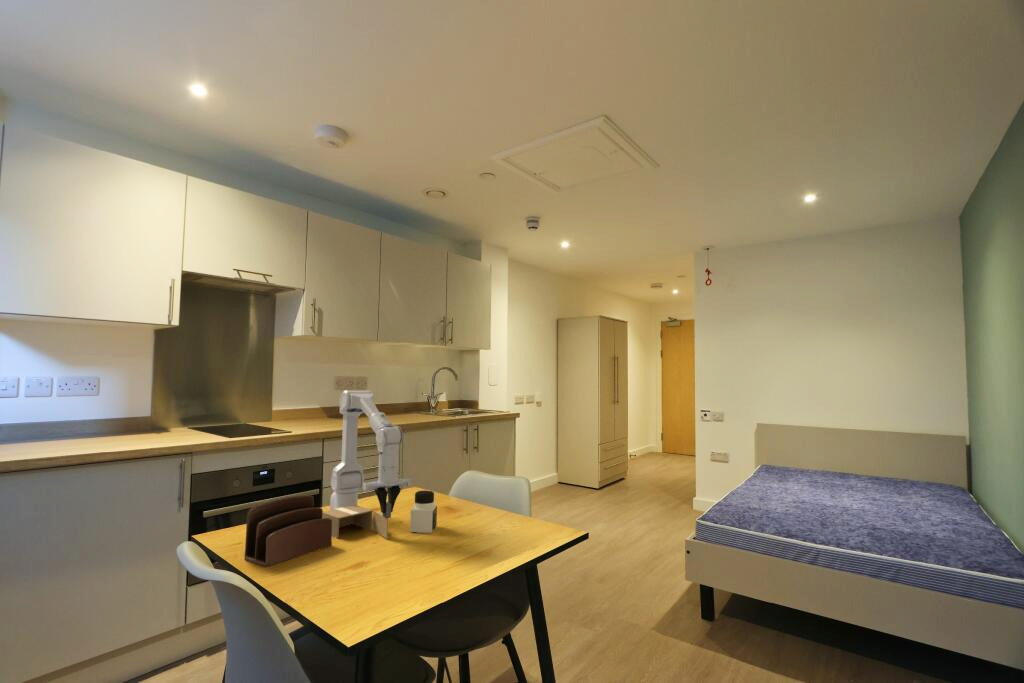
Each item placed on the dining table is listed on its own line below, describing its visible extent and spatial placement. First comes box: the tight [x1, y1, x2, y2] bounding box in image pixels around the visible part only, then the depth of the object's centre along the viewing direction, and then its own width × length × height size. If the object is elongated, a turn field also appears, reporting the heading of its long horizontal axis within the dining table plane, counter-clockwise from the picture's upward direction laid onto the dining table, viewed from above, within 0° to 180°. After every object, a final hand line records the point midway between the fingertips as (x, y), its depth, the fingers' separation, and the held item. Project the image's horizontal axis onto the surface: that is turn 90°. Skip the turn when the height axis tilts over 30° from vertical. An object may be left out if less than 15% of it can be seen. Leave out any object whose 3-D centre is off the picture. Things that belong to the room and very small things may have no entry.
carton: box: [322, 504, 374, 539], centre depth 154 cm, size 10×12×6 cm
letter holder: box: [244, 494, 333, 568], centre depth 134 cm, size 10×20×14 cm, turn 148°
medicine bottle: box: [409, 489, 438, 534], centre depth 156 cm, size 7×7×12 cm
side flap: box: [372, 501, 392, 540], centre depth 151 cm, size 2×12×10 cm, turn 35°
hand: (386, 512), depth 148 cm, fingers closed on side flap
